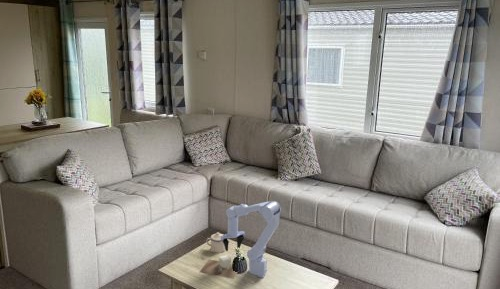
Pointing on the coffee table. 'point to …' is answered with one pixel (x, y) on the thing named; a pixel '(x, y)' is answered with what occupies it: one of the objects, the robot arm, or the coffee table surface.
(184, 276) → the coffee table surface
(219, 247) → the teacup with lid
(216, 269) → the board
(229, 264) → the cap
